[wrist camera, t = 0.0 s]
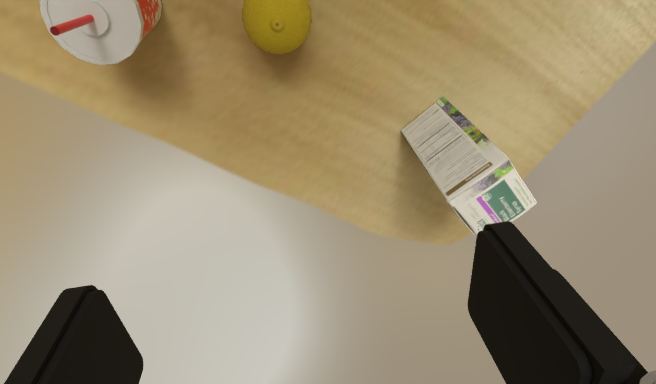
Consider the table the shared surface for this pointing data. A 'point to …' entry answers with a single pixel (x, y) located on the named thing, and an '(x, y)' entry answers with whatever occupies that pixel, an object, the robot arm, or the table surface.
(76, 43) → the beverage cup
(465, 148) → the syrup box
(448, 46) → the table surface
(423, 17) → the table surface
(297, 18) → the lemon
